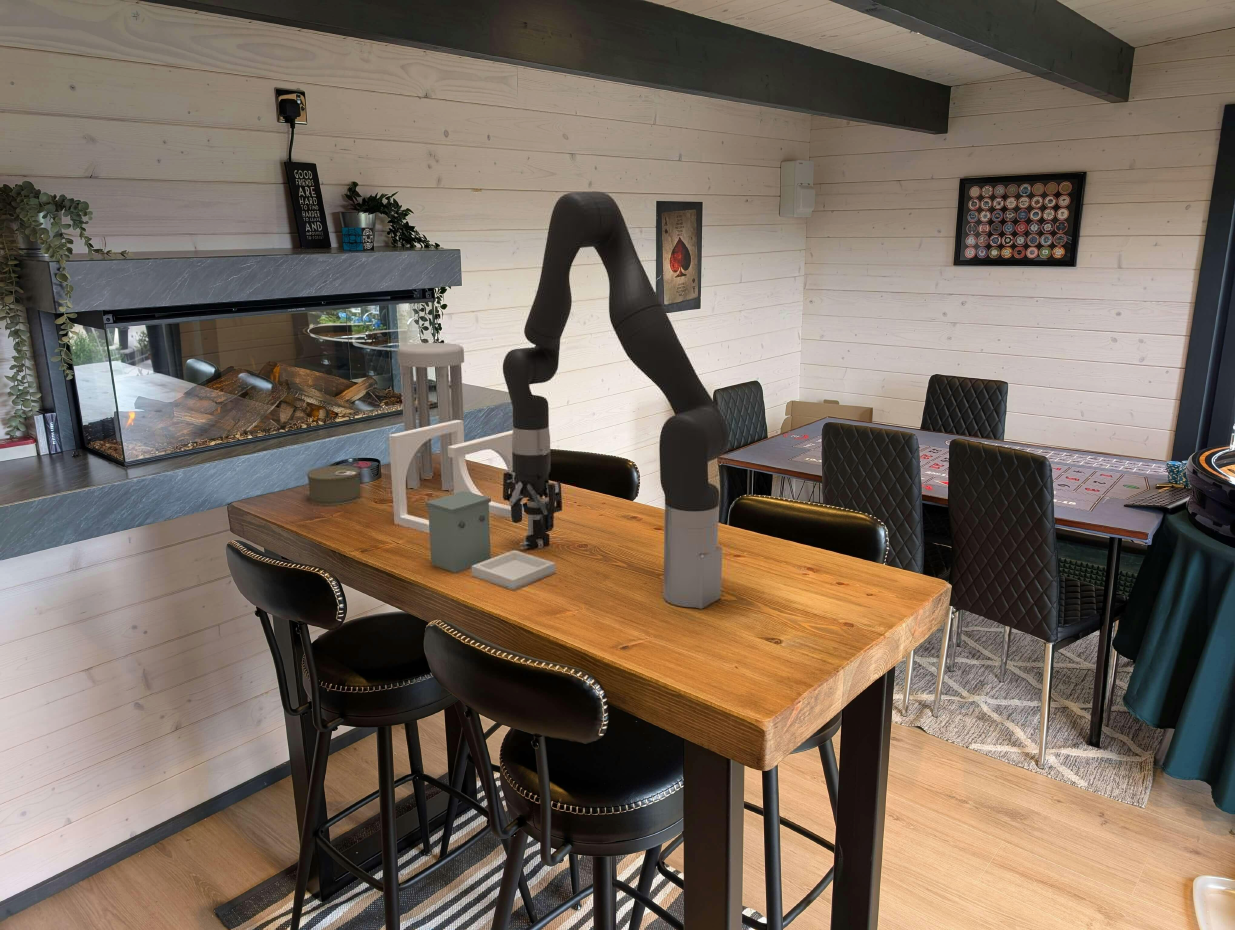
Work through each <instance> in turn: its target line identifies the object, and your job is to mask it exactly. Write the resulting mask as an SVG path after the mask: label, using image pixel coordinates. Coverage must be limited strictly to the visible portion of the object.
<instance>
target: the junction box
mask: <svg viewBox="0 0 1235 930" xmlns="http://www.w3.org/2000/svg"><path fill="white" fill-rule="evenodd" d="M491 501H492V498H491V497H489V496H485V495H483V496H481V495H478V494H474V493H470V492H466V491H462V492H459V493H455V494H454V493H451V494H449V495H445V496H442V497H438V498H435V499H431V500H427V501H425V507H427V508H428V509H427V510H428V520H429V532H430V533H429V547H430V564H432V565H431V566H434V565H435V567H437V568H440V569H443V570H445V571H448V572H451V573H454V574H457V573H459V572H461V571H465V570H467V569H470V568H472V566H473V565H475V564H478V563H481V562H483V561H486V560H489V559H492V555H491V552H492V551H491V527H490V513H489V503H490V502H491Z"/></svg>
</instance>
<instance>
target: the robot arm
mask: <svg viewBox="0 0 1235 930" xmlns="http://www.w3.org/2000/svg"><path fill="white" fill-rule="evenodd" d="M626 223H627V222H626V221H625V219H624V216H623V213H622V211H621V209H620V207H619V205H618V203H617V201H615V199H614V198H613V197H612V196H611V195H610V194H608V193H605V192H602V191H573V192H568V193H564V194H563V195H562V196H560V197H559V198H558V200H556V202H555V205H554V206H553V209H552V212H551V217H550V221H549V225H548V230H547V231H548V232H547V236H546V237H547V238H546V244H545V248H544V253H543V259H542V267H541V273H540V278H539V283H538V286H537V290H536V293H535V296H534V300H533V302H532V305H531V308H530V310H529V314H528V316H527V319H526V322H525V325H524V329H523V333H524V337H525V338H526V340H527V341H528V342H529V343H531V344H532V345H534V346H532V347H523V348H514V349H511V350H510V351H508V352H507V353H506V354H505V357H504V359H503V363H502V374H503V378H504V381H505V384H506V388H507V391H508V395H509V399H510V402H511V406H512V430H513V433H512V469H513V471H509V472H508V471H506V472H503V475H502V476H503V478H502V479H503V480H502V481H503V482H502V499H503V501H507V502H508V503H509V506H511V518H510V519H511V522H512V523H513V524H517V523H520V522H522V521H523V518H522V504H520V503H521V502H522V500H523V501H524V499H531V500H535V502H536V504H537V505H538V506H540V508H541V510H542V512H543V515H542V530H543V532H546V533H550V532H551V531H553V529H554V526H555V524H554V519H555V518H554V517H555V516H554V514H556V513H559V512H562V511H563V500H562V499H563V497H562V484H561V482H560V481H555V482H552V481H550V480H549V473H550V472H551V433H550V427H549V426H550V411H549V409H550V408H549V401H548V399H547V398H546V397H544V396H542V395H537V394H533V393H532V391H531V388H530V385H535V384H543V383H546V382H549V381H551V380H552V379H553V378H554V376H555V375H556V374H557V371H558V369H559V364H560V363H559V360H560V347H561V337H562V335H563V333H564V330H565V328H566V325H567V323H568V319H569V317H570V313H571V310H572V305H573V304H572V302H573V301H572V299H573V298H572V297H573V296H572V291H571V284H570V283H571V282H570V273H571V268H572V266H573V262H574V261H575V259H576V257H577V255H578V253H579V252H580V250H581V248H582V249H583V248H594V250H595V251H596V252H597V255H598V256H599V258H600V260H601V262H602V264H603V267H604V269H605V271H606V274H607V278H608V287H609V290H608V291H609V295H608V315H609V320H610V324H611V326H612V329H613V331H614V333H615V335H616V336H617V339H618V341H619V343H620V345H621V347H622V349H623V350H624V353H625V354H626V355H627V357H628V359H629V360H630V361H631V362H632V363H633V364H634V365H635V366H636V367H637V368H638V369H639V370H640V371H641V372H642V373H643V374H644V375H645V376H646V377H647V378H648V379H649V380H651V382H653V384H655V385H656V386H657V387H658V388H659V390H660V391H661V392H662V393H663V395H664V396H665V398H666V400H667V401H668V403H669V405H670V407H671V409H672V411H673V414H674V415H672V416H670V417H669V418H667V419H666V421H665V422H664V424H663V425H662V428H661V430H660V435H659V448H658V449H659V451H658V452H659V479H660V480H659V481H660V486H661V489H662V491H663V494H664V528H663V529H664V531H663V532H664V537H663V538H664V539H663V585H662V586H663V590H662V591H663V594H662V596H663V599H664V601H666V602H668V603H670V604H671V605H674V606H676V607H677V606H678V607H685V608H696V609H697V608H698V609H704V608H706V607H707V606H709V605H711V604H713V603H714V602H715V603H716V602H717V601H719V599H721V597H722V596H721V595H722V574H723V573H722V572H723V571H722V570H723V569H722V568H723V546H720V545H719V544H718V543H719V540H718V539H719V519H720V517H719V513H720V512H719V511H720V490H719V488H718V487H717V486H716V485H715V484H713V483H711V482H709V466H708V465H709V462H711V461H713V460H716V459H718V458H720V457H722V456H723V455H724V454H725V453H726V451H727V449H728V447H729V443H730V431H729V427H728V425H727V422H726V420H725V418H724V416H723V414H722V413H721V411H720V409H719V408H718V405H716V403H715V401H714V400H713V398H712V397H711V395H710V394H709V392H708V390H707V389H706V387H705V386H704V384H703V383H702V381H701V379H700V378H699V376H698V374H697V373H696V371H695V369H694V366H693V364H692V363H691V360H690V358H689V357H688V355H687V353H686V351H685V348H684V347H683V345H682V343H681V342H680V339H679V338H678V335H677V333H676V331H675V328H674V326H673V324H672V322H671V320H670V318H669V315H668V314H667V312H666V310H665V308H664V306H663V304H662V302H661V301H660V299H659V297H658V295H657V293H656V291H655V289H654V287H653V285H652V282H651V280H650V278H649V277H648V275H647V272H646V270H645V268H644V266H643V263H642V262H641V259H640V257H639V255H638V252H637V250H636V248H635V245H634V242H633V240H632V238H631V234H630V232H629V228H628V226H627V224H626ZM516 485H517V487H516ZM541 498H544V499H541ZM545 503H546V504H547V506H548V508H547V507H546V505H545Z"/></svg>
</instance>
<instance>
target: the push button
mask: <svg viewBox="0 0 1235 930" xmlns="http://www.w3.org/2000/svg"><path fill="white" fill-rule="evenodd" d="M544 498H545V497H542V498H541V499H544ZM545 505H546V507H547V508H548V506H547V504H546V503H545ZM523 510H524V514H525V515H527V531H528V532H526V533H527V534H526V535H525V536H524V541H523V542H520V543H519V545H521V547H519V549H521V550H523V549H528V550H529V551H532V550H536V549H542V548H544V547H550V540H551V539H550V533H549V532H547V533H546V532H543V530H542V515H543V512H542V510H541V508H540V506H538V505H537V504H536V502H535V500H531V499H529V498H526V502H523ZM523 545H524V546H523Z"/></svg>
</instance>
